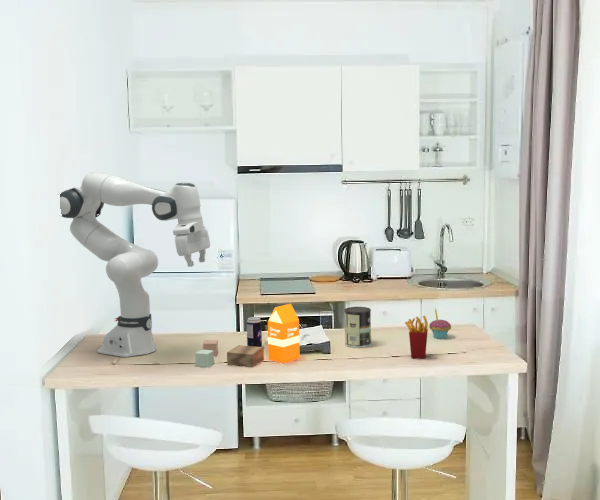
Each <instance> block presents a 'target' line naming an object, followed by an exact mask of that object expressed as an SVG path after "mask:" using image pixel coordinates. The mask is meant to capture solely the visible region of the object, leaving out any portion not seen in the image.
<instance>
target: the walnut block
mask: <svg viewBox="0 0 600 500" xmlns="http://www.w3.org/2000/svg"><path fill="white" fill-rule="evenodd" d="M264 349H265V348H264V347H263V346H262V347H255V346H247V345H240V344H239V345H237V346H235V347H233V348H232V349H230V350H229V351H227V352H226V359H227V360H226V363H227V366H232V365H235V367H243V366H245V367H246V368H254V367H256V366H257V365H258V364H260V363H261V362H262V361H264V360H265V356H264V355H265V353H264ZM245 367H244V368H245Z"/></svg>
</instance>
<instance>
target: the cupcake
mask: <svg viewBox="0 0 600 500" xmlns="http://www.w3.org/2000/svg"><path fill="white" fill-rule="evenodd" d="M437 311H438V310H437V308H434V313H435V320H432V321H431V322H430V323H429V324H428V326H429V329H430V330H431V332H432V335H433V338H434V339H437V340H442V339H443V340H444V339H446V338H447V335H448V332H449V331H451V329H452V325H451V323H450V322H449V321H447V320H445V319H439V318H438V317H439V316H438V312H437Z"/></svg>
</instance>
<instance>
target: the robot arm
mask: <svg viewBox="0 0 600 500" xmlns="http://www.w3.org/2000/svg"><path fill="white" fill-rule="evenodd" d="M60 193H61V194H60ZM60 193H59V194H60V209H61V214H62V216H61V217H63V218H66V219H72V221H71V223H70V224H69V225H70V226H69V231H70V233H71V234H72V236H73V237H74V238H75V239H76V241H78V243H80V244H81V245H82V246H83V248H85V249H87V250H88V251H89V252H91V253H92V254H93V255H94V256H96V257H97V258H98V259H99V260H102V261H104V262H107V263H106V267H105V272H106V276H107V278H108V279H109V280H110V281H112V282H113V283H114V285H115V288H116V290H117V293H118V297H119V309H120V315H119V316H118V317H116V318H114V322H117V323H116V326H114V327H113V328H112V329H110V331H109V332H107V333H106V334H105V336H104V337H103V341H102V342H103V343H102V344H103V345H102V346H100V347H99V348H98V349H97V354H104V355H108V356H109V355H111V356H116V357H122V358H128V357H133V356H141V355H142V356H143V355H148V354H150V353H153V352H155V351H156V350H157V347H156V345H155V344H156V343H155V341H154V337H153V331H152V329H153V328H152V327H153V324H152V323H153V320H152V319H153V318H152V314H151V308H150V307H151V306H150V295H149V293H148V292H147V291H146V290H145V289H144V287H143V283H142V279H143V278H145V277H148V276H150V275H152V274H153V273H154V272H155V271H156V270H157V268H158V266H159V258H158V256H157V255H156V253H155V252H154V251H153V250H151V249H147V248H143V247H141V246H139V245H137V244H135V243H133V242H131V241H128V240H126V239H124V238H123V237H120V236H119V235H117V234H116V233H115V232H113V231H112V230H110V229H109V228H108V227H107V226H105V225H104V224H103V223H101V222H100V221H99V220H98V219H97V217H99V216H100V215H101V214H102V210H103V208H104V204H106V205H109V206H115V207H127V206H133V205H150V206H151V211H152V214H153V215H154V217H155V218H156V219H158V221H162V222H163V221H165V222H167V221H171V220H172V221H173V220H177V225H175V227H174V228H173V229H172V234H173V235H174V236H175V237H174V243H175V249H176V253H177V255H178V256H179V257H184V260H185V262H186V264H187V267H188V268H191V267H194V265H195V264H194V260H193V259H192V254H194V253H199V257H198V262H199V263H205V262H206V249H209V248H210V247H211V241H210V235H209V233H208V229H206V227H205V226H204V222H203V215H202V213H201V201H200V195H199V192H198V189H197V186H196V184H194V183H191V182H177V183H175V184H174V185H173V186H172V188H171V189H169V190H168V191H165V190H160V189H157V188H152V187H148V186H145V185H142V184H139V183H137V182H136V183H135V182H133V181H130V180H128V179H125V178H121V177H120V176H116V175H113V174H108V173H104V172H95V171H94V172H89V173H87V174H86V175H85V176H84V178H83V179H82V182H81V185H80V186H79V187H72V188H69V189H66V190H64V191H61V192H60Z"/></svg>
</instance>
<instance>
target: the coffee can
mask: <svg viewBox="0 0 600 500" xmlns="http://www.w3.org/2000/svg"><path fill="white" fill-rule="evenodd" d="M371 312H372V309H371V308H369V307H367V306H349V307H346V308H344V338H345V339H344V343H345V344H344V345H345V346H346V347H348V348H353V349H354V348H355V349H361V348H368V347H370V346H371V345H372V331H371V330H372V328H371V327H372V325H371V321H372V320H371V318H372V317H371V315H372V314H371Z"/></svg>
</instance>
